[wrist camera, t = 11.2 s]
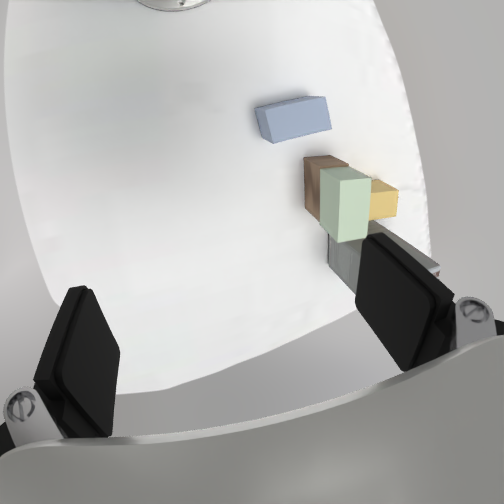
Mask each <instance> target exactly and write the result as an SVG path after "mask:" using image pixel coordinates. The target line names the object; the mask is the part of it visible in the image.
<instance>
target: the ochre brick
mask: <svg viewBox="0 0 504 504" xmlns="http://www.w3.org/2000/svg"><path fill="white" fill-rule="evenodd" d="M398 192H399V190H397V189H395V188H394V187H392V186H390V185H388V184H386V183H384V182H382V181H381V180H371V196H370V209H369V221H370V220H376V219H382V218H388V217H394V216H396V212H397V203H398Z"/></svg>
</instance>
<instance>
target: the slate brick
mask: <svg viewBox="0 0 504 504" xmlns="http://www.w3.org/2000/svg"><path fill="white" fill-rule="evenodd" d="M255 112H256V116H257V120H258V124H259V127H260V131H261V135H262V138H263V139H265V140H267V141H269V142H271V143H273V144H274V143H278V142H282V141H285V140H289V139H293V138H297V137H301V136H305V135H309V134H313V133H317V132H321V131H326V130H330V129H332V127H331V122H330V117H329V112H328V107H327V102H326V98H325V97H319V96H307V97H302V98H297V99H292V100H288V101H283V102H279V103H275V104H270V105H266V106H262V107H258V108H255Z"/></svg>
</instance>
